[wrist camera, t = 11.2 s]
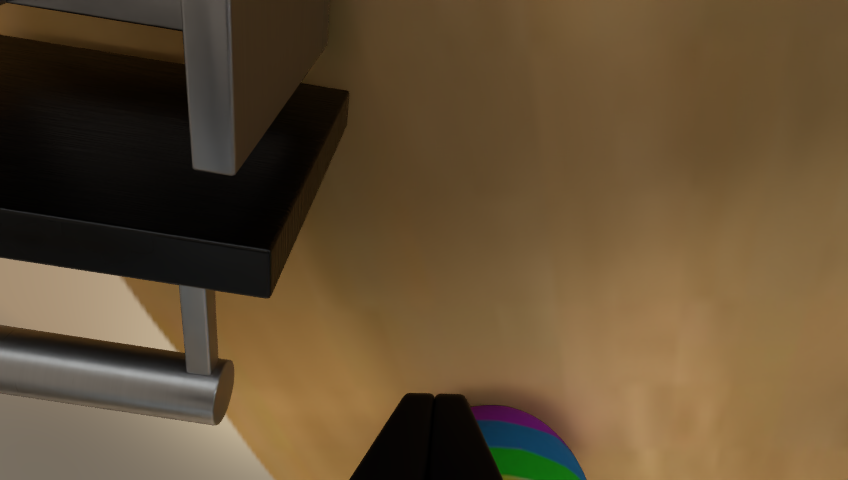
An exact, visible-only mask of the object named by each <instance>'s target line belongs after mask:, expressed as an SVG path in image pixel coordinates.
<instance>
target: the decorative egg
mask: <svg viewBox="0 0 848 480" xmlns="http://www.w3.org/2000/svg"><path fill="white" fill-rule="evenodd" d="M470 408H471V410H472V412H473V414H474V416H475V419H476V421H477V423H478V425H479V427H480V430H481V432H482V434H483V436H484V438H485V441H486V443H487V445H488V447H489V449H490V452H491V454H492V456H493V458H494V460H495V463H496V465H497V467H498V469H499V471H500V474H501V476H502V478H503V480H586V477H585V475H584V473H583V471H582V469H581V467H580V465H579V463H578V461H577V460H576V458H575V456H574V455H573V453H572V452H571V450H570V449H569V448H568V446H567V445H566V444H565V442H564V441H563V440H562V439H561V438H560V437H559V436H558V435H557V434H556V433H555V432H554V431H553V430H552V429H551V428H549V427H548V426H547V425H546V424H545V423H543V422H542V421H540V420H539V419H537V418H536V417H534V416H532V415H530V414H528V413H526V412H524V411H521V410H518V409H514V408H511V407H506V406H498V405H483V406H475V407H470Z"/></svg>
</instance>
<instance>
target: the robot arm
mask: <svg viewBox="0 0 848 480" xmlns="http://www.w3.org/2000/svg"><path fill="white" fill-rule="evenodd" d="M349 480H503V478H502V476H501V474H500V471H499V469H498V467H497V465H496V463H495V460H494V458H493V456H492V454H491V452H490V449H489V447H488V445H487V443H486V441H485V438H484V436H483V434H482V432H481V430H480V427H479V425H478V423H477V421H476V419H475V416H474V414H473V412H472V410H471V408H470V406H469V403H468V401H467V399H466V398H465V396H464V395H461V394H438V395H437V396H436V397H434V396H433V395H432V394H430V393H408V394H406V395H405V396H404V397H403V398H402V399H401V401H400V403H399V404H398V406H397V407H396V409H395V410H394V412H393V413H392V415H391V416H390V418H389V419H388V421H387V422H386V424H385V426H384V427H383V429H382V430H381V432H380V433H379V435H378V436H377V438H376V439H375V441H374V442H373V444H372V445H371V447H370V449H369V450H368V452H367V453H366V455H365V456H364V458H363V459H362V461H361V462H360V464H359V465H358V467H357V468H356V470H355V472H354V473H353V475H352V476H351V478H350V479H349Z"/></svg>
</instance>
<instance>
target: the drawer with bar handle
mask: <svg viewBox="0 0 848 480" xmlns="http://www.w3.org/2000/svg"><path fill="white" fill-rule="evenodd" d="M5 3H11V4H18V5H24V6H30V7H36V8H42V9H49V10H55V11H61V12H67V13H73V14H79V15H86V16H92V17H98V18H104V19H110V20H116V21H123V22H129V23H135V24H141V25H147V26H154V27H160V28H166V29H172V30H178V31H183V44H184V59H185V65H184V64H178V63H172V62H166V61H160V60H153V59H147V58H141V57H135V56H128V55H122V54H116V53H110V52H104V51H97V50H91V49H85V48H79V47H73V46H66V45H60V44H54V43H48V42H41V41H35V40H29V39H23V38H17V37H10V36H4V35H0V258H7V259H13V260H19V261H26V262H33V263H40V264H45V265H53V266H58V267H65V268H71V269H78V270H85V271H91V272H97V273H104V274H111V275H117V276H123V277H130V278H136V279H143V280H149V281H156V282H162V283H169V284H175V285H179V291H180V302H181V313H182V324H183V335H184V346H185V353H181V352H175V351H168V350H162V349H155V348H148V347H142V346H135V345H129V344H122V343H115V342H108V341H102V340H95V339H89V338H82V337H76V336H69V335H63V334H56V333H49V332H43V331H36V330H30V329H23V328H16V327H10V326H4V325H0V393H2V394H8V395H15V396H21V397H28V398H35V399H41V400H48V401H55V402H61V403H68V404H75V405H81V406H88V407H95V408H102V409H108V410H115V411H122V412H129V413H135V414H141V415H149V416H155V417H161V418H169V419H175V420H181V421H188V422H195V423H202V424H208V425H218V424H219V423H220V422H221V421H222V419H223V417H224V415H225V413H226V411H227V408H228V405H229V402H230V399H231V394H232V390H233V384H234V364H233V362H232V361H231V360H227V359H221V358H218V339H217V320H216V301H215V291H221V292H227V293H234V294H240V295H247V296H253V297H260V298H270V297H271V295H272V293H273V291H274V288H275V286H276V284H277V282H278V279H279V277H280V275H281V273H282V270H283V268H284V266H285V264H286V261H287V259H288V257H289V254H290V252H291V250H292V248H293V245H294V243H295V241H296V239H297V236H298V234H299V232H300V230H301V227H302V225H303V223H304V221H305V218H306V216H307V214H308V212H309V209H310V207H311V205H312V203H313V200H314V198H315V196H316V194H317V191H318V189H319V187H320V185H321V182H322V180H323V178H324V176H325V173H326V171H327V169H328V166H329V164H330V162H331V160H332V157H333V155H334V153H335V151H336V148H337V146H338V144H339V142H340V139H341V137H342V135H343V133H344V130H345V128H346V126H347V117H348V104H349V92H348V91H346V90H340V89H334V88H327V87H321V86H315V85H309V84H303V83H301V81H302V80H303V78H304V77H305V76H306V74H307V73H308V71H309V70H310V68H311V67H312V66H313V64H314V63H315V61H316V60H317V59H318V57H319V56H320V54H321V53H322V52H323V50H324V49H325V48H326V46H327V40H328V23H329V5H330V0H0V5H2V4H5Z"/></svg>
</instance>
